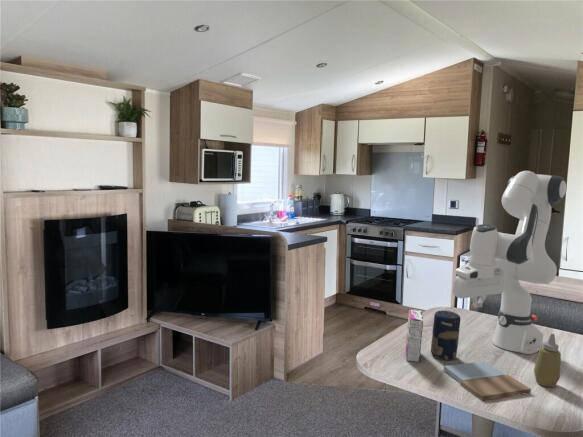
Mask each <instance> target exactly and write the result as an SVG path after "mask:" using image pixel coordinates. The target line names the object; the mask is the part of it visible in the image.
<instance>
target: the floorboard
mask: <svg viewBox="0 0 583 437" xmlns="http://www.w3.org/2000/svg"><path fill="white" fill-rule="evenodd" d="M460 386H461V387H462V388H463V389H464V390H466V391H468V392H469V393H470V394H472V395H473V396H474V397H476V398H477V399H478V400H480V401H489V400H493V399H500V398H506V397H507V398H508V397H514V396H513V395H515V396H519V395H518V394H521V395H524V394H523V393H528V394H530V393H531V391H532V389H531V388H530V387H528V386H527V385H526V384H524V383H523V382H521V381H519V380H517V379H516V378H514V377H512V376H510V375H509V374H505V375H503V376H495V377H488V378H480V379H473V380H466V381H461V383H460ZM529 392H530V393H529Z"/></svg>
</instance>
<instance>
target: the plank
mask: <svg viewBox="0 0 583 437" xmlns="http://www.w3.org/2000/svg"><path fill="white" fill-rule="evenodd" d="M443 371H445V372H446V373H447V374H448V375H449V376H451V377H452V378H454V379H455V380H456V381H457V382H458V383H460V384H461V381H466V380H473V379H480V378H488V377H495V376H503V375H506V374H504V372H502V371H500V370H498V368H496V367H494V366H492V365H491V364H489V363H488V362H486V361H485V360H483V361H476V362H467V363H458V364H450V365H443Z"/></svg>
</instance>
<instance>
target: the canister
mask: <svg viewBox="0 0 583 437" xmlns="http://www.w3.org/2000/svg"><path fill="white" fill-rule="evenodd" d="M460 328H461V316H460V315H459V314H458V313H457V312H453V311H450V310H437V311H436V312H435V313H434V316H433V324H432V335H431V336H432V337H431V343H430V344H431V346H430V353H431V355H433V357H435V358H437V359H440V360H448V361H449V360H453V359H455V358H456V357H457V354H458V346H459V337H460Z"/></svg>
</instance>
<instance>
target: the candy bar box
mask: <svg viewBox="0 0 583 437" xmlns="http://www.w3.org/2000/svg"><path fill="white" fill-rule="evenodd" d="M407 318H408V320H407V330H406V339H405V340H406V342H405V354H406V361H407V362H413V363H414V362H415V363H420V359H421V348H422V338H423V325H424V318H423V312H422V310H415V309H409V310H408V317H407Z"/></svg>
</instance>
